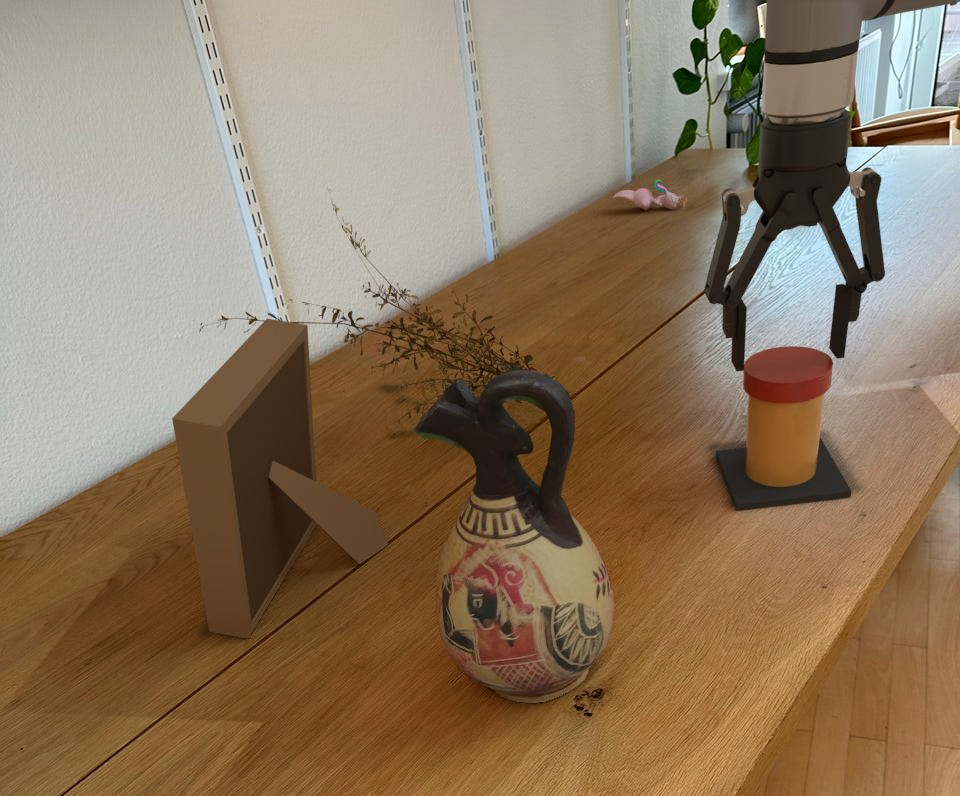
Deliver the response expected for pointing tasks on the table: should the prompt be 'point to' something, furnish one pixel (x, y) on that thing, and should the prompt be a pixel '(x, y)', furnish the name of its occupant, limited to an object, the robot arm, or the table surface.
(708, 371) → the table surface
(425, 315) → the dried plant
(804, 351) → the lid
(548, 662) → the ceramic jug
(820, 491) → the mat
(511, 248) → the table surface
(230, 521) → the photo frame
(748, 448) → the jar
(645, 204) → the pink toy figure
